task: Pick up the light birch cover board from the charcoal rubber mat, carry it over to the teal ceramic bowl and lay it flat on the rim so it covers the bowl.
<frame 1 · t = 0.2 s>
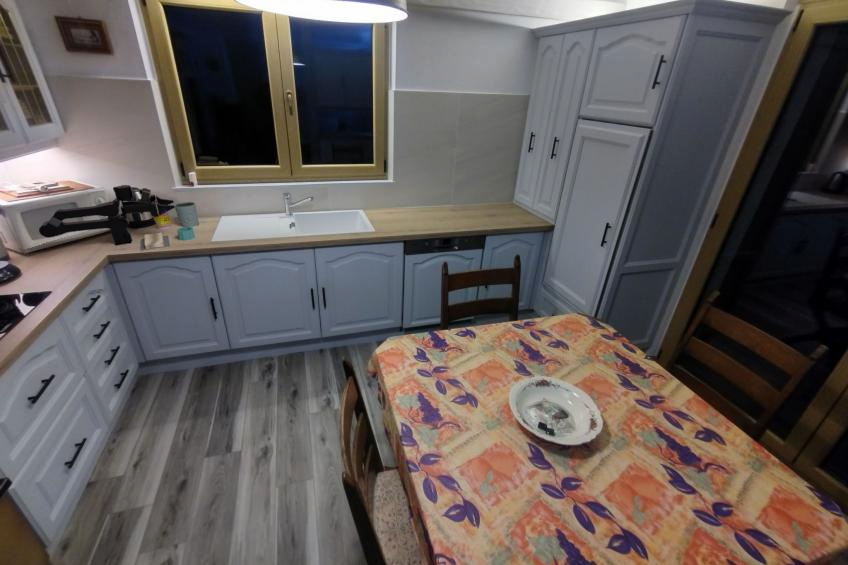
hand: (174, 204, 195), 16 cm above the table, tool horizontal, fingers open, 9 cm apart
cover board: (154, 242, 190), resting on mat
grey-green cup: (190, 225, 215), on the table
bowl: (187, 238, 197), on the table
mat: (155, 243, 191), on the table
supplement bottle: (165, 227, 211), on the table
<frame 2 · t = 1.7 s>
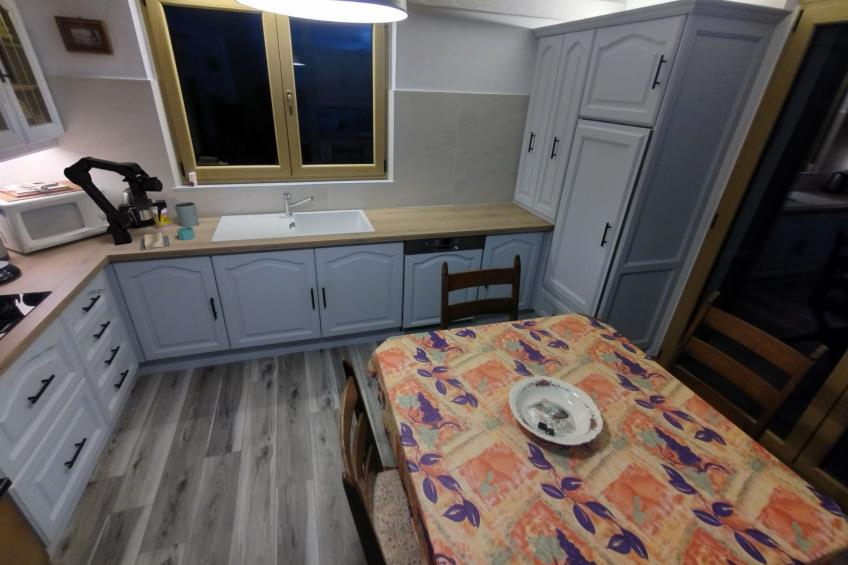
hand: (148, 223, 186), 10 cm above the table, tool pointing down, fingers open, 9 cm apart
nothing on the table moved.
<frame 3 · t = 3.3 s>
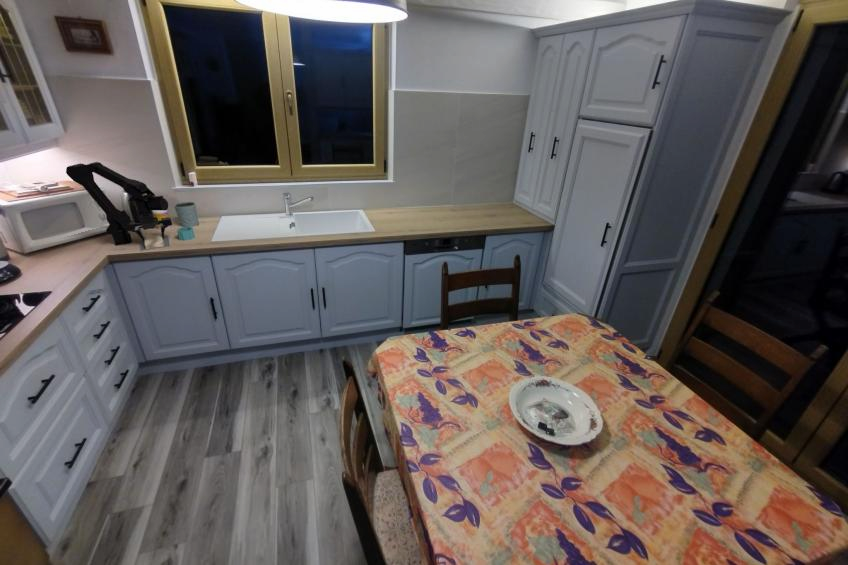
hand: (154, 240, 190), 2 cm above the table, tool pointing down, fingers closed on cover board, 7 cm apart
cover board: (154, 242, 190), resting on mat, touching gripper
everything else where it was.
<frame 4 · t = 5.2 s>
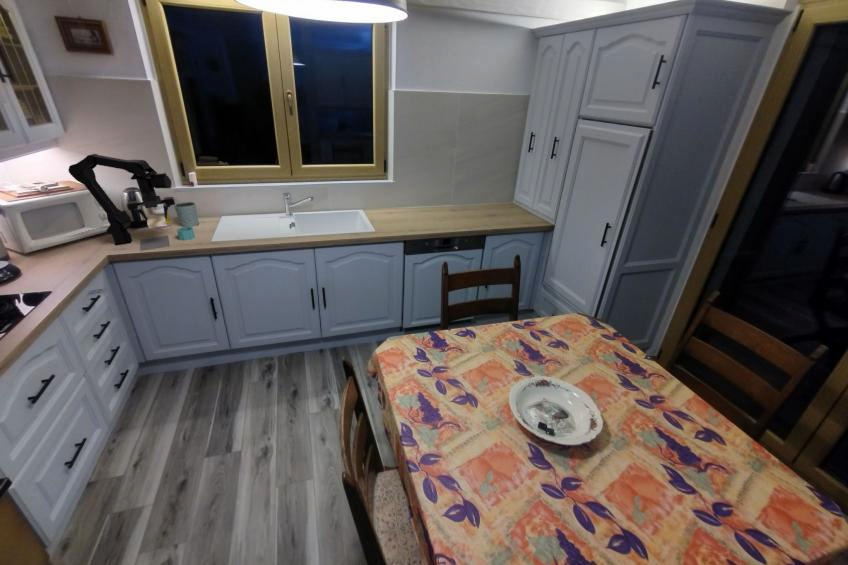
hand: (157, 220, 187), 11 cm above the table, tool pointing down, fingers closed on cover board, 7 cm apart
cover board: (157, 222, 187), point 10 cm above the table, touching gripper
everything else where it was.
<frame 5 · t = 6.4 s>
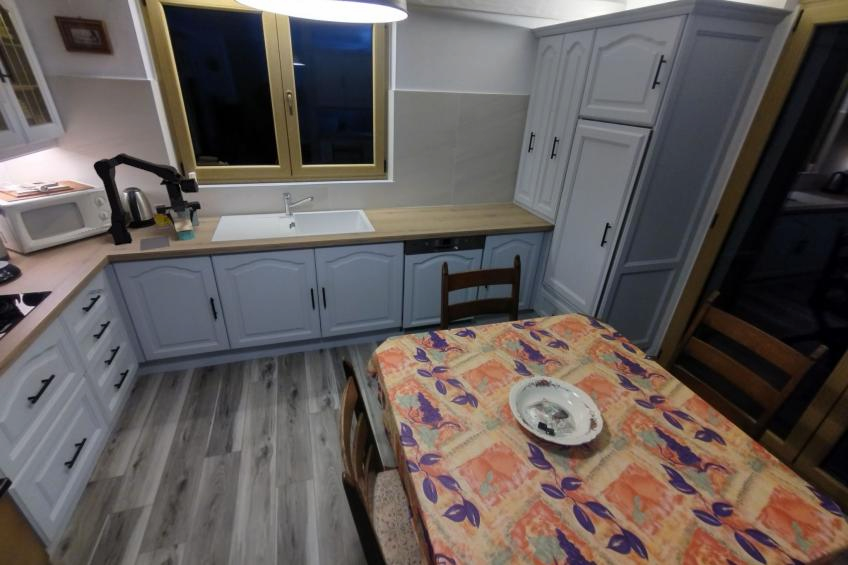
hand: (183, 224, 194), 8 cm above the table, tool pointing down, fingers closed on cover board, 7 cm apart
cover board: (183, 226, 194), point 7 cm above the table, touching gripper
everything else where it was.
when the fingers open (7 cm above the table, at t = 7.4 s): cover board drops 1 cm, resting on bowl.
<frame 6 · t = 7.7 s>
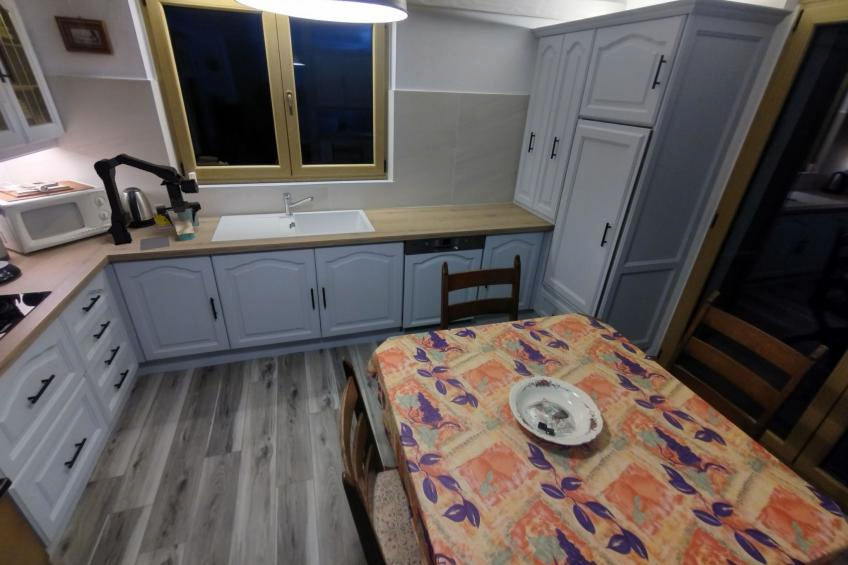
hand: (183, 224, 194), 7 cm above the table, tool pointing down, fingers open, 9 cm apart
cover board: (184, 229, 195), point 5 cm above the table, touching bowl
everything else where it was.
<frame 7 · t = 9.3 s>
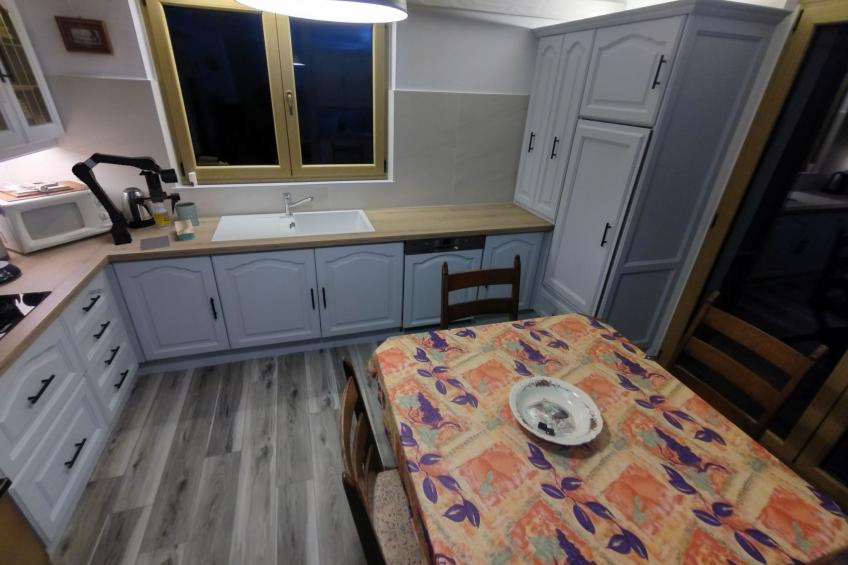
hand: (162, 215, 193), 12 cm above the table, tool pointing down, fingers open, 9 cm apart
nothing on the table moved.
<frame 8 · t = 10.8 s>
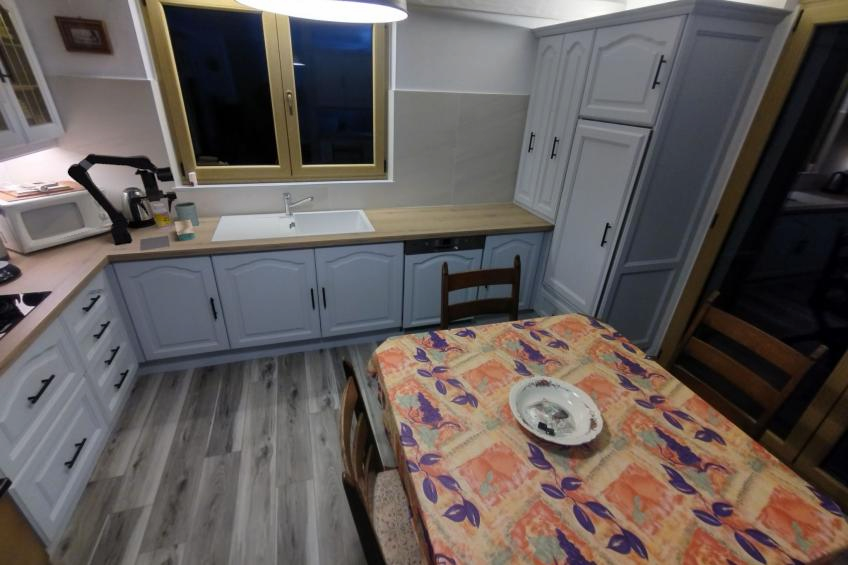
hand: (159, 214, 193), 12 cm above the table, tool pointing down, fingers open, 9 cm apart
nothing on the table moved.
at the end: cover board 0.1 cm off-centre on the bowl, point 5.0 cm above the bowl's base; cover board tilted 0°; cover board touching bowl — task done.
